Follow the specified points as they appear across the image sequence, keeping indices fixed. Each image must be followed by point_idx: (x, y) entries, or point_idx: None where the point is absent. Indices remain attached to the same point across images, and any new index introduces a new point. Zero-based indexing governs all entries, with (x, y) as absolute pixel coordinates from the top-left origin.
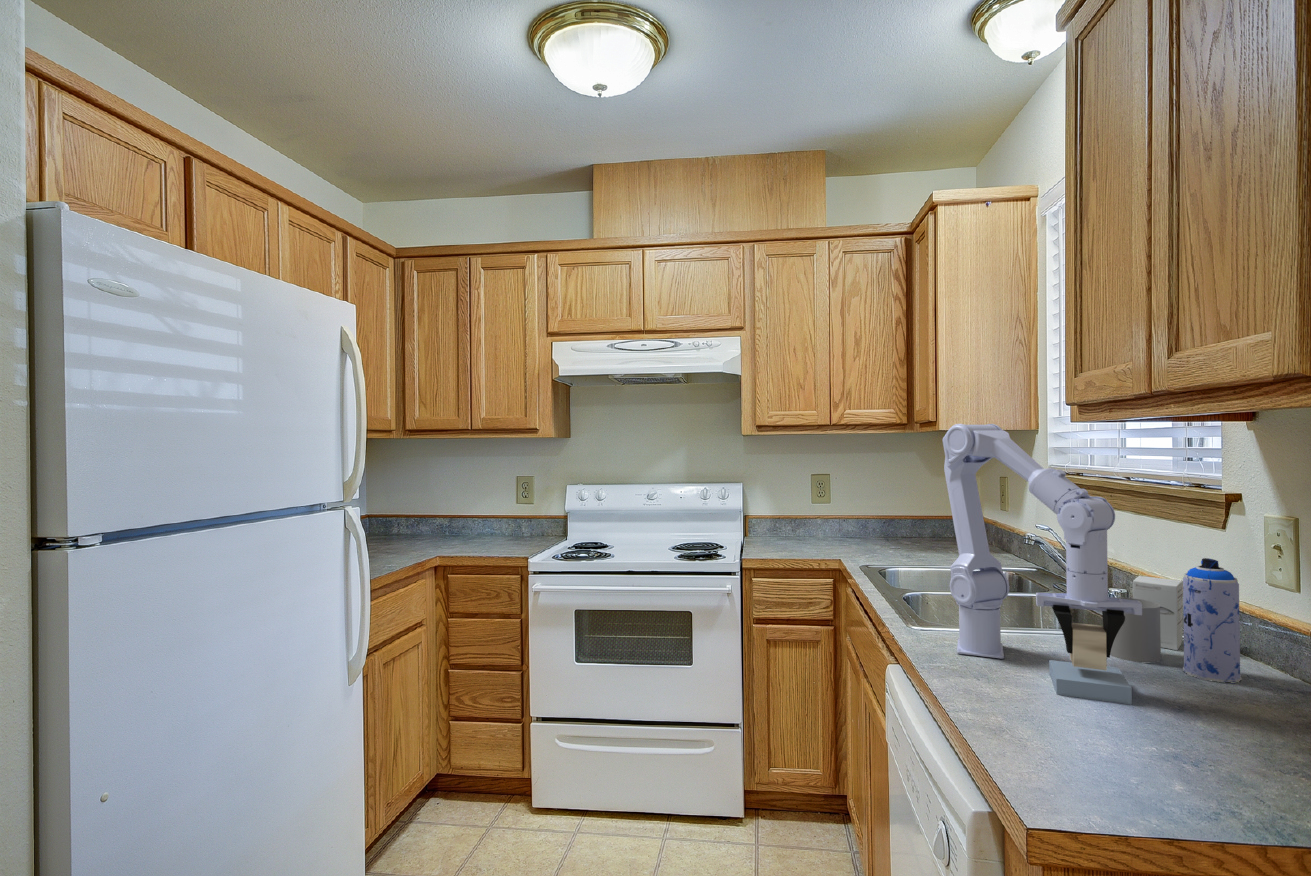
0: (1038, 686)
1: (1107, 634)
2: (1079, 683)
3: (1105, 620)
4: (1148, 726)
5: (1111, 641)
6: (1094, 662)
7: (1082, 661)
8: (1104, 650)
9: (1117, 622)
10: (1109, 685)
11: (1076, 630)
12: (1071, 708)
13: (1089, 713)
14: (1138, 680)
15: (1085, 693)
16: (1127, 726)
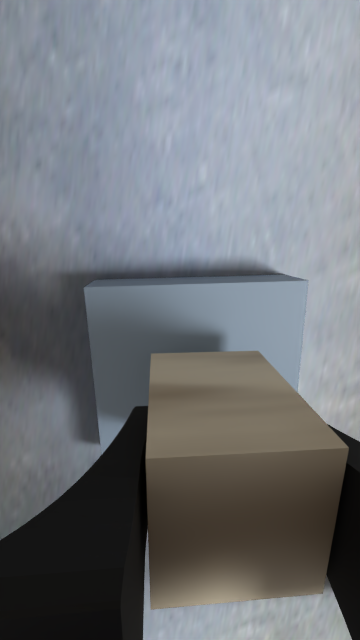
0: (319, 323)
1: (135, 468)
2: (238, 281)
3: (135, 608)
4: (69, 86)
5: (118, 443)
6: (193, 363)
7: (235, 360)
8: (157, 391)
9: (36, 548)
10: (150, 284)
11: (325, 447)
12: (265, 163)
13: (222, 137)
14: (60, 484)
15: (214, 278)
16: (129, 55)
